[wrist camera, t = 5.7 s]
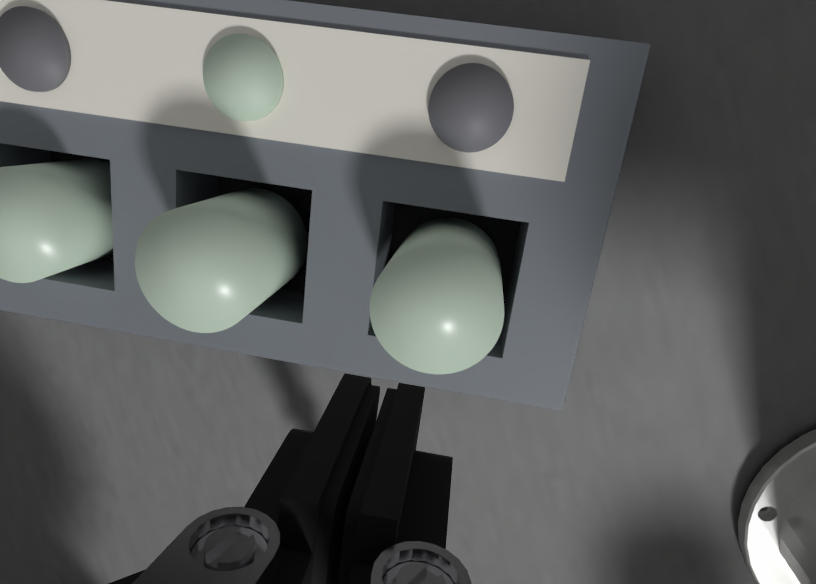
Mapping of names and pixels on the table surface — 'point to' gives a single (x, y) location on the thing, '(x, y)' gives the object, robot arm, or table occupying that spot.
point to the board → (329, 160)
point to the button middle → (219, 257)
